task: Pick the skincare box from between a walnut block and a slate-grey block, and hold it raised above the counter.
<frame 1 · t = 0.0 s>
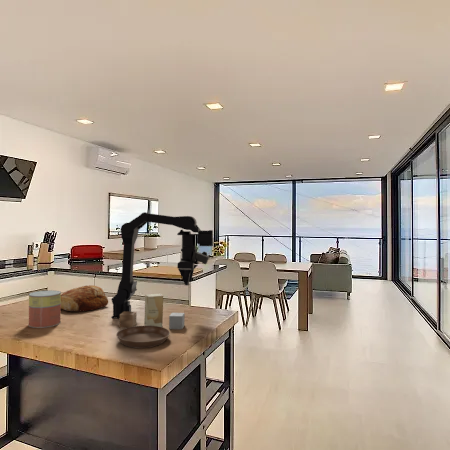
hand: (188, 283, 152), 15 cm above the worktop, tool pointing down, fingers open, 9 cm apart
canned food: (44, 324, 142), on the worktop
bread: (78, 308, 169), on the worktop
skincare box: (153, 327, 140), on the worktop
plant saucer: (143, 342, 123), on the worktop
walnut block: (128, 326, 140), on the worktop
slate grey block: (176, 327, 139), on the worktop
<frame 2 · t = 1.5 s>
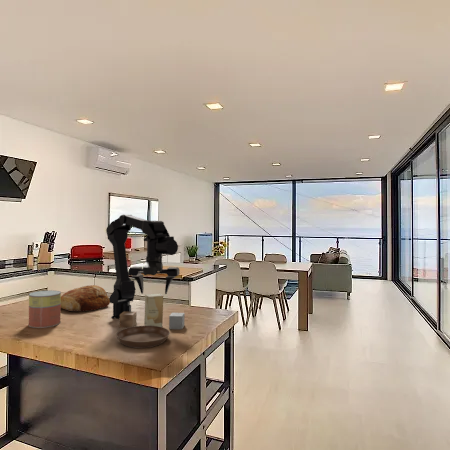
hand: (154, 293, 139), 13 cm above the worktop, tool pointing down, fingers open, 9 cm apart
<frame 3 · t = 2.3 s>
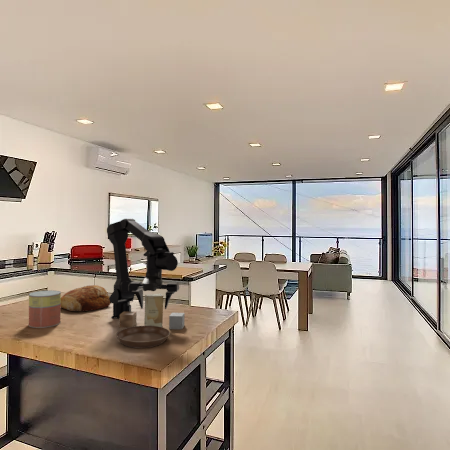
hand: (153, 308, 140), 7 cm above the worktop, tool pointing down, fingers open, 9 cm apart
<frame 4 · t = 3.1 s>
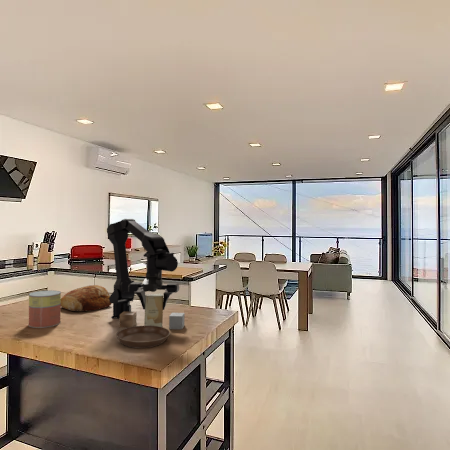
hand: (153, 309, 139), 7 cm above the worktop, tool pointing down, fingers closed on skincare box, 7 cm apart
skincare box: (153, 327, 140), on the worktop, touching gripper
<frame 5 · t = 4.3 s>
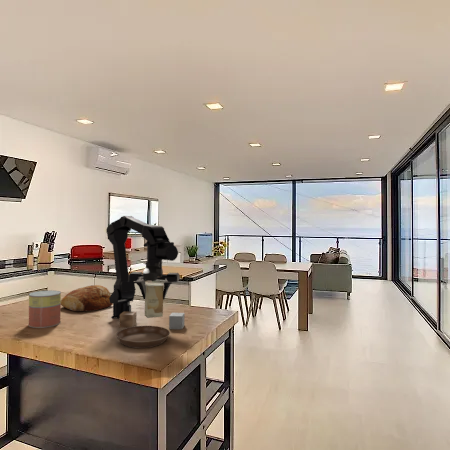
hand: (154, 299, 139), 11 cm above the worktop, tool pointing down, fingers closed on skincare box, 7 cm apart
skincare box: (153, 316, 139), point 4 cm above the worktop, touching gripper
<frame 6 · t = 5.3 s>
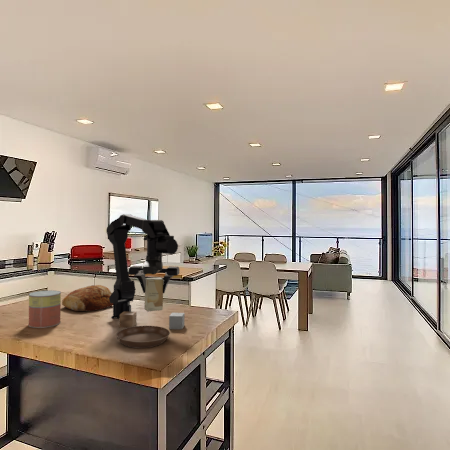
hand: (154, 293, 139), 13 cm above the worktop, tool pointing down, fingers closed on skincare box, 7 cm apart
skincare box: (153, 310, 139), point 6 cm above the worktop, touching gripper
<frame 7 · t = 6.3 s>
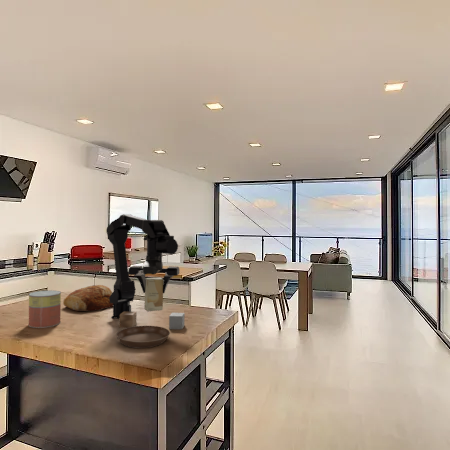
hand: (154, 293, 139), 13 cm above the worktop, tool pointing down, fingers closed on skincare box, 7 cm apart
skincare box: (153, 310, 139), point 6 cm above the worktop, touching gripper
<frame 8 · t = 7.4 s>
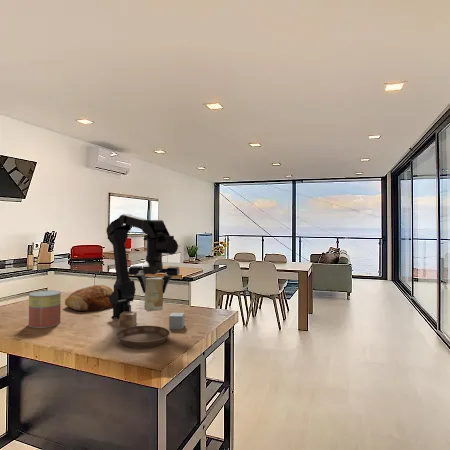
hand: (154, 293, 139), 13 cm above the worktop, tool pointing down, fingers closed on skincare box, 7 cm apart
skincare box: (153, 310, 139), point 6 cm above the worktop, touching gripper
at the end: the gripper is holding skincare box; skincare box point 6.2 cm above the worktop; walnut block moved 0.1 cm from its start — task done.
